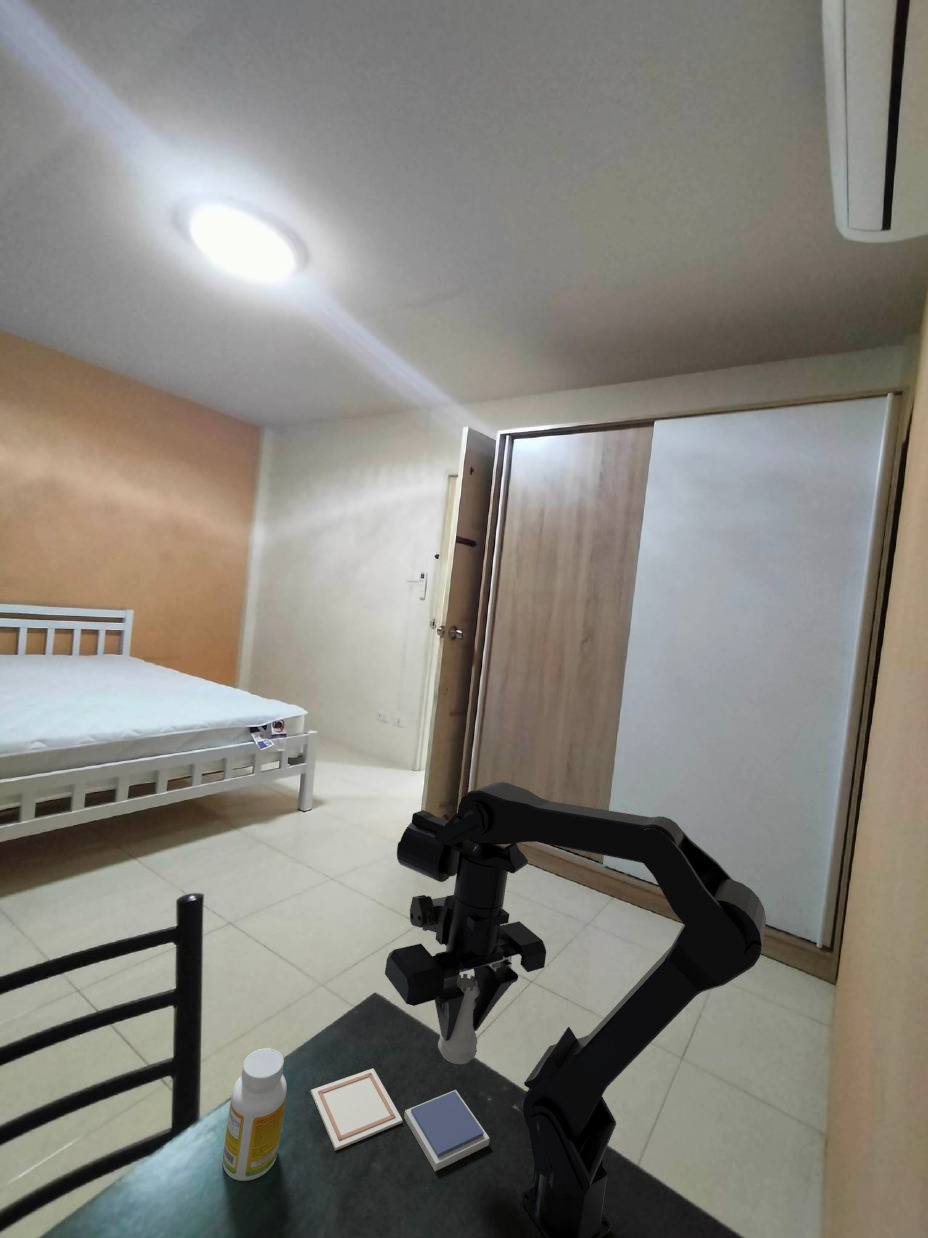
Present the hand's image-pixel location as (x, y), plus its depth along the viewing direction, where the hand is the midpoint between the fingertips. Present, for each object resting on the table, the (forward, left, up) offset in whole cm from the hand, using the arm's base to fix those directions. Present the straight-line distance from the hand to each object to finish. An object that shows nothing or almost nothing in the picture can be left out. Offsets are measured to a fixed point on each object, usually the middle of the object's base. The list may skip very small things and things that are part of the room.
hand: (459, 1033), depth 64 cm
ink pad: (0, 0, -11) cm, 11 cm away
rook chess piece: (0, 0, -2) cm, 2 cm away
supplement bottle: (+6, +20, -11) cm, 24 cm away
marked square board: (+7, +8, -11) cm, 15 cm away
